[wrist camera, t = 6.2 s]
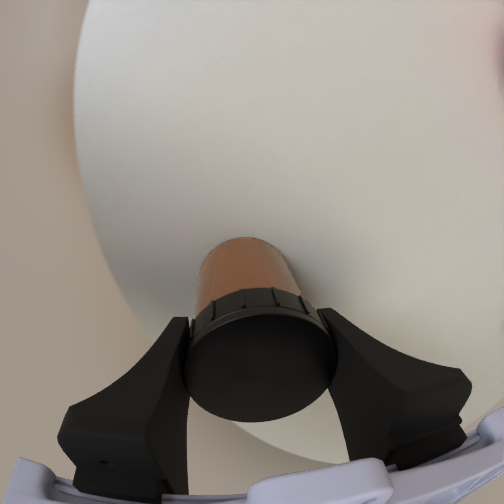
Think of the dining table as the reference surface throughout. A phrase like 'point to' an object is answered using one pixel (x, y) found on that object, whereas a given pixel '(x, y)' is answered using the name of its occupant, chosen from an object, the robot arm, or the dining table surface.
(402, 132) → the dining table surface
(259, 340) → the jar lid
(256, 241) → the jar
